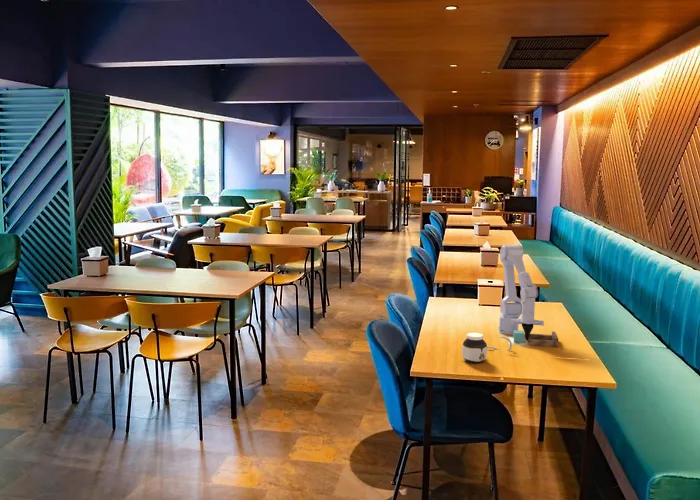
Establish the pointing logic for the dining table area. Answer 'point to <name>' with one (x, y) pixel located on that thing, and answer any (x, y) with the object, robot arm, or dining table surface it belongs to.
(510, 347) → the hook
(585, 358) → the dining table surface
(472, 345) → the spread jar
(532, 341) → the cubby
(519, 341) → the teal block
